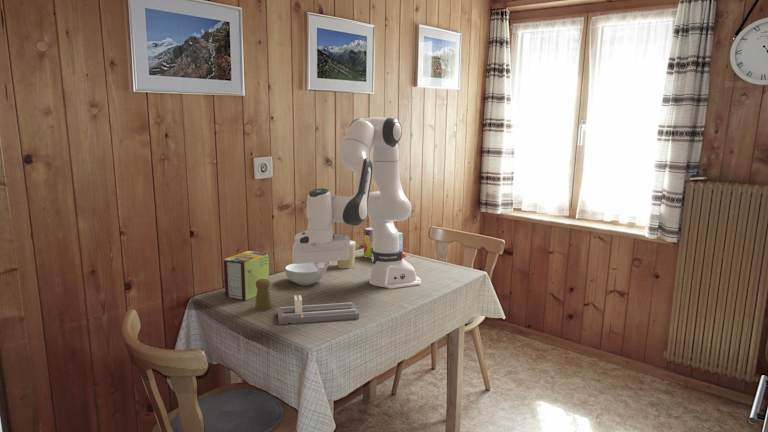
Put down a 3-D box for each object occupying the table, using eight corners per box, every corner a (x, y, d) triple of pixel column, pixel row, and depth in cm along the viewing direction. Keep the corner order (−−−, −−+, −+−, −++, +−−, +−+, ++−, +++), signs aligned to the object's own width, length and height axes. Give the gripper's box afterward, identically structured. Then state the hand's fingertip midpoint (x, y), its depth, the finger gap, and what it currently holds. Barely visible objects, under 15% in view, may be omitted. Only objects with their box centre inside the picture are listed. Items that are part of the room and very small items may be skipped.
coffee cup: (338, 263, 262) (338, 239, 260) (357, 264, 261) (357, 240, 259) (334, 268, 253) (334, 243, 251) (353, 269, 252) (353, 244, 250)
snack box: (403, 262, 266) (403, 232, 263) (396, 264, 262) (396, 234, 259) (369, 255, 279) (370, 226, 276) (362, 257, 275) (363, 228, 272)
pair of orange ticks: (300, 306, 198) (300, 305, 198) (303, 317, 187) (303, 316, 187) (298, 306, 198) (298, 305, 198) (301, 317, 187) (301, 316, 187)
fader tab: (301, 308, 195) (300, 294, 194) (302, 313, 190) (302, 299, 189) (294, 308, 194) (294, 295, 193) (295, 313, 190) (295, 299, 189)
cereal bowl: (332, 280, 236) (332, 264, 235) (311, 290, 221) (311, 274, 220) (299, 274, 243) (299, 259, 242) (277, 285, 228) (277, 268, 227)
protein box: (269, 289, 222) (268, 253, 219) (245, 301, 208) (244, 262, 205) (249, 286, 226) (248, 250, 223) (224, 297, 213) (222, 259, 210)
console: (353, 307, 203) (353, 300, 202) (358, 318, 192) (359, 311, 192) (277, 313, 196) (277, 305, 196) (278, 324, 186) (278, 316, 185)
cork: (256, 305, 204) (255, 277, 202) (272, 304, 205) (271, 277, 203) (254, 310, 198) (253, 282, 196) (270, 310, 199) (269, 281, 197)
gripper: (348, 231, 194) (349, 268, 197) (290, 235, 190) (292, 272, 193) (351, 235, 188) (352, 273, 191) (292, 239, 184) (293, 278, 187)
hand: (321, 273), depth 192 cm, fingers closed
